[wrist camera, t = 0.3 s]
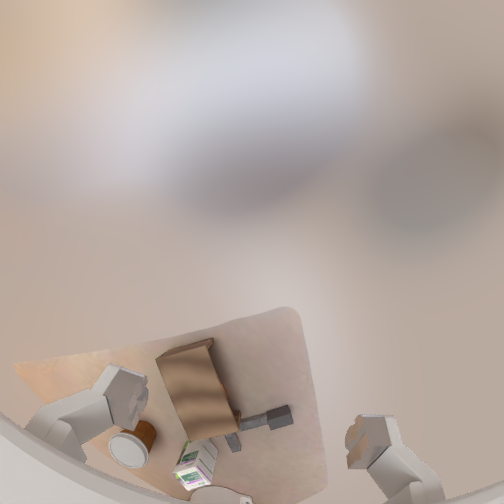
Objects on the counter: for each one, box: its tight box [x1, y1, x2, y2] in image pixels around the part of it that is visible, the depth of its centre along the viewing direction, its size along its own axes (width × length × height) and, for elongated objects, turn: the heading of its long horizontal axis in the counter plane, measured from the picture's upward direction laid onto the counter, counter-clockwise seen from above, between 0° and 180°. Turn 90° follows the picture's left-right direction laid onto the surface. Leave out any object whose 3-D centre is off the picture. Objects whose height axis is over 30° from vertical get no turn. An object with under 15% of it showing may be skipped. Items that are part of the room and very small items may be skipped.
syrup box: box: [173, 438, 218, 491], centre depth 52 cm, size 6×6×14 cm
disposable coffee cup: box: [109, 421, 156, 469], centre depth 53 cm, size 10×10×12 cm
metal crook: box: [225, 405, 293, 453], centre depth 57 cm, size 7×16×5 cm, turn 109°
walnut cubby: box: [155, 338, 241, 442], centre depth 56 cm, size 19×10×9 cm, turn 19°
